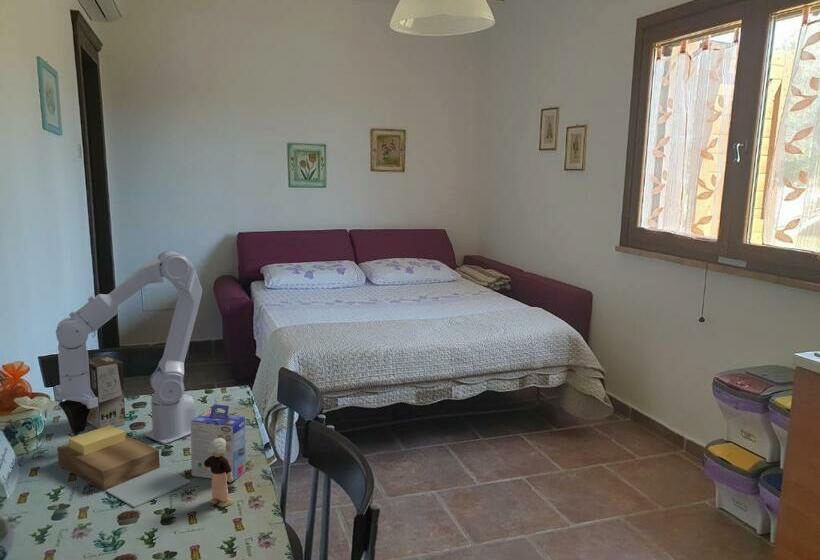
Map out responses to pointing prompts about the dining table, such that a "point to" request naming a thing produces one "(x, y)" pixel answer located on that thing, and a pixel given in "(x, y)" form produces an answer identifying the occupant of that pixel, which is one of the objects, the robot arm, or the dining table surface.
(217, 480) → the grandmother figurine
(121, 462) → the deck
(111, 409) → the coffee box
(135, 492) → the mat
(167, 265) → the robot arm
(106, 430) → the pale yellow foam brick
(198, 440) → the ink cartridge box
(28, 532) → the dining table surface
